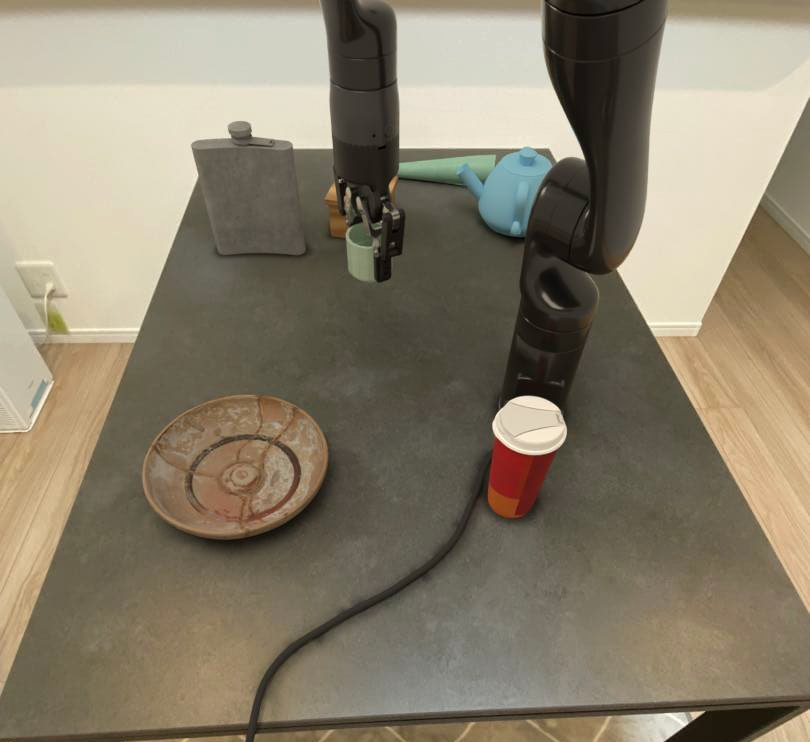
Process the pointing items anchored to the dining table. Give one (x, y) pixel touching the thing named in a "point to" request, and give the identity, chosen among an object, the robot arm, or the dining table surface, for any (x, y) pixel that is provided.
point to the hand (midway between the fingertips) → (370, 266)
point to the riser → (338, 221)
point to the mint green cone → (447, 169)
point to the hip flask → (250, 192)
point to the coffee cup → (523, 453)
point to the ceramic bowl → (235, 466)
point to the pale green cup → (361, 253)
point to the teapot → (508, 190)
